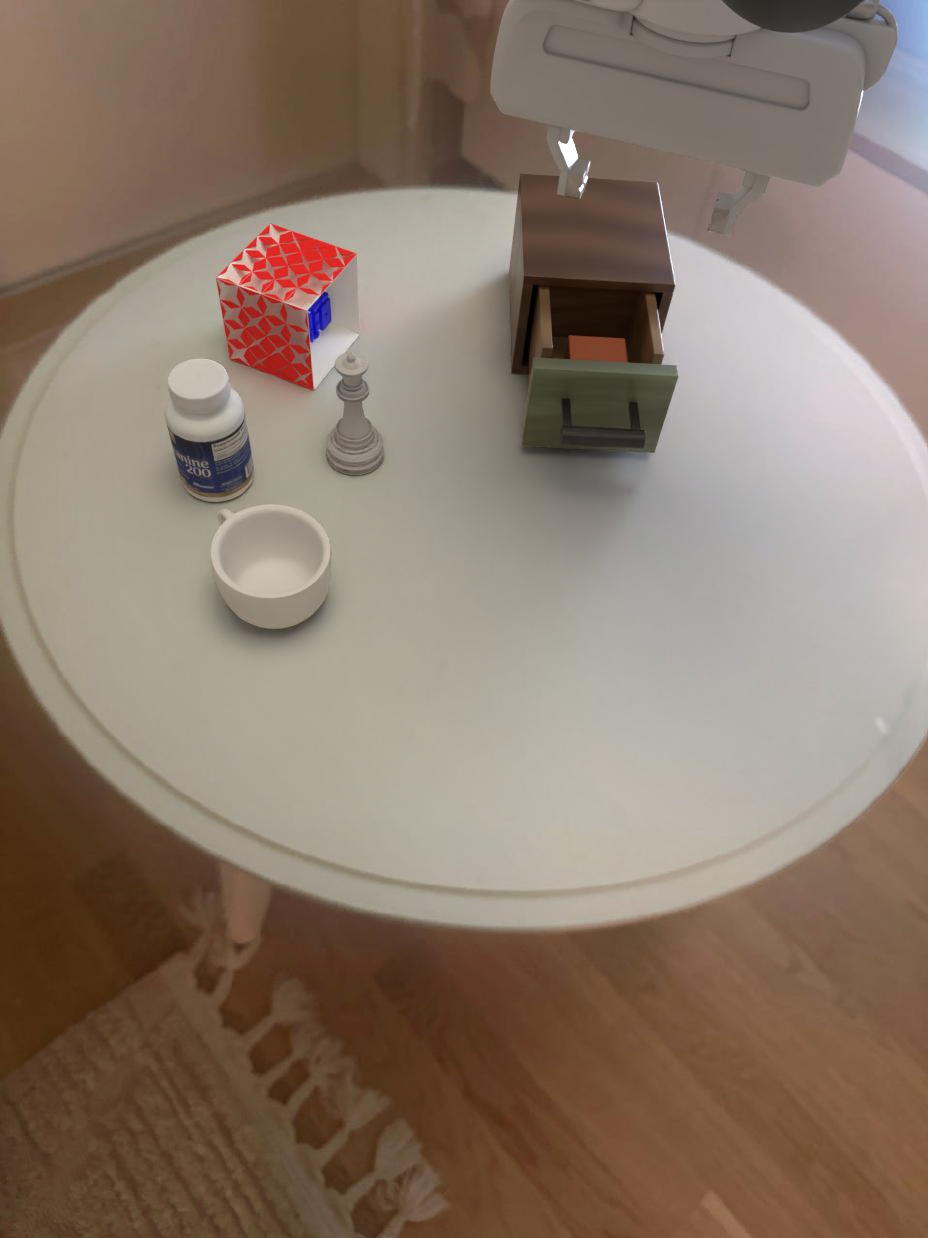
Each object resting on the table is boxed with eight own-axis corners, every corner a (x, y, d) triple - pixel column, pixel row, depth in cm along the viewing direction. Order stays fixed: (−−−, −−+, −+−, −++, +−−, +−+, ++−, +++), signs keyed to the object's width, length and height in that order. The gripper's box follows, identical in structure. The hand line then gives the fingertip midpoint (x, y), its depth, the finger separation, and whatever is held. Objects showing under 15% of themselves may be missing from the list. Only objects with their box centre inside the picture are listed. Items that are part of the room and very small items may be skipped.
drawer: (660, 493, 74) (685, 418, 68) (523, 486, 74) (535, 409, 67) (640, 345, 84) (661, 267, 77) (518, 339, 83) (529, 259, 77)
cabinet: (648, 380, 83) (675, 284, 75) (511, 373, 82) (523, 275, 74) (634, 279, 90) (657, 181, 82) (508, 271, 90) (520, 172, 82)
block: (614, 381, 79) (625, 337, 76) (618, 420, 77) (629, 377, 73) (560, 378, 79) (568, 334, 75) (562, 417, 77) (571, 373, 73)
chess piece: (336, 482, 74) (330, 381, 66) (319, 442, 76) (310, 339, 68) (391, 468, 75) (392, 367, 67) (373, 429, 77) (371, 326, 69)
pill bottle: (166, 476, 73) (139, 376, 65) (223, 440, 76) (203, 339, 68) (213, 516, 71) (190, 418, 63) (269, 478, 74) (255, 379, 66)
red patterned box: (279, 304, 85) (270, 222, 79) (360, 333, 84) (357, 252, 77) (229, 359, 81) (215, 277, 74) (313, 391, 79) (306, 310, 73)
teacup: (357, 604, 68) (355, 556, 63) (266, 665, 65) (257, 619, 60) (271, 518, 72) (263, 467, 67) (181, 572, 68) (166, 522, 64)
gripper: (917, -25, 49) (819, 222, 61) (528, -104, 52) (504, 146, 63) (908, 30, 46) (806, 282, 57) (491, -58, 49) (473, 199, 60)
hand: (645, 210), depth 60 cm, fingers open, 8 cm apart
